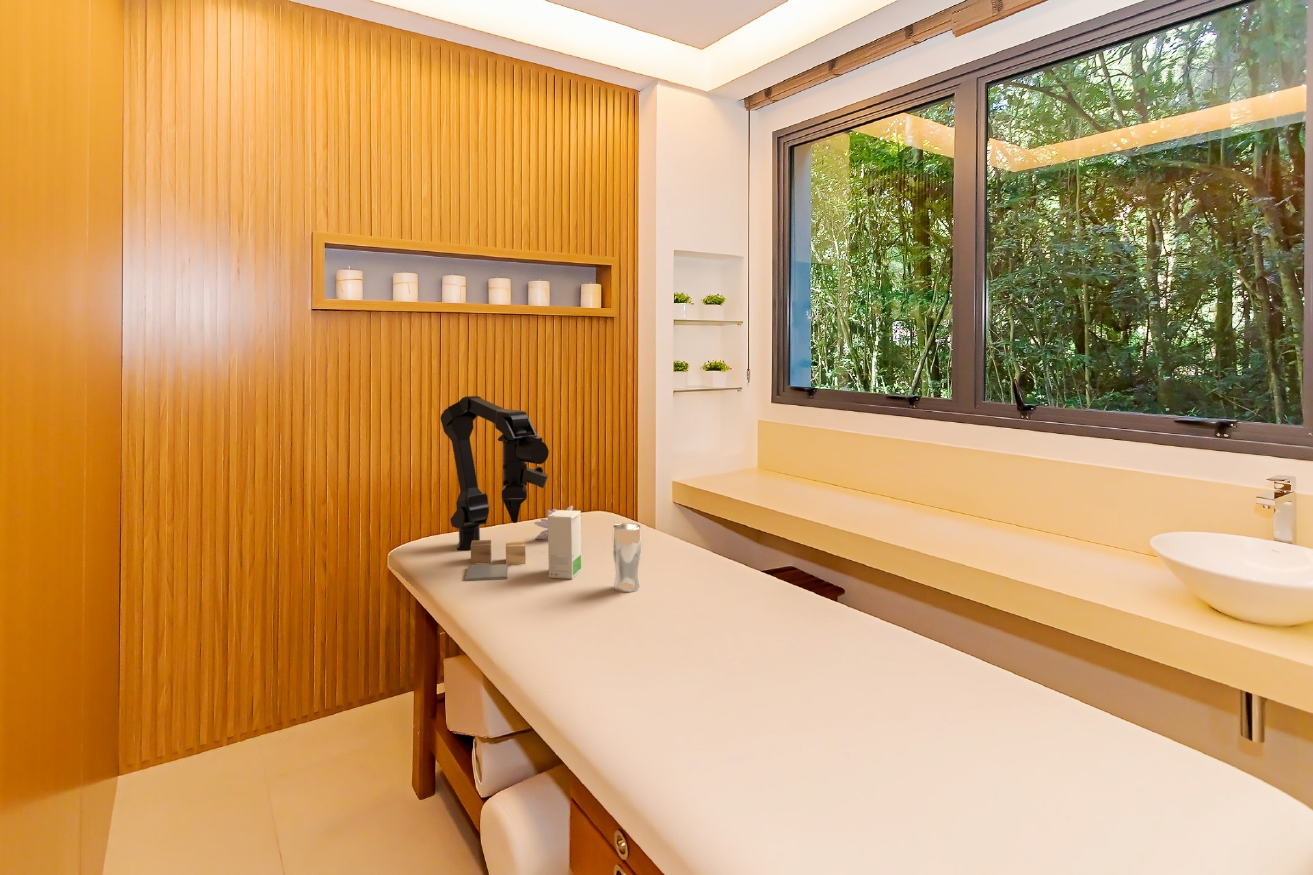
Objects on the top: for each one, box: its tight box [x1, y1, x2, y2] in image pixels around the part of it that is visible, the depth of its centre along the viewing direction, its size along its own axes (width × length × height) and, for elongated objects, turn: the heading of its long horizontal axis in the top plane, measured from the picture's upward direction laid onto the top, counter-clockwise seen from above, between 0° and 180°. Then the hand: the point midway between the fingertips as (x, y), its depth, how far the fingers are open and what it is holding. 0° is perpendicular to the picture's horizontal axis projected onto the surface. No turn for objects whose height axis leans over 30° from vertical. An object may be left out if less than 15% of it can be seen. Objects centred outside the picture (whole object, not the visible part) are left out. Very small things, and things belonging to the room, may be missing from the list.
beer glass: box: [611, 522, 643, 593], centre depth 171 cm, size 7×7×15 cm
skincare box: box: [547, 509, 583, 580], centre depth 181 cm, size 8×7×16 cm
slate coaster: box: [464, 563, 509, 582], centre depth 181 cm, size 10×10×1 cm
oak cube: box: [505, 540, 527, 566], centre depth 191 cm, size 5×5×5 cm
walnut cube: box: [470, 539, 492, 565], centre depth 191 cm, size 5×5×5 cm
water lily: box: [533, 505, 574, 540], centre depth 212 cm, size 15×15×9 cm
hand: (515, 518), depth 190 cm, fingers open, 9 cm apart
